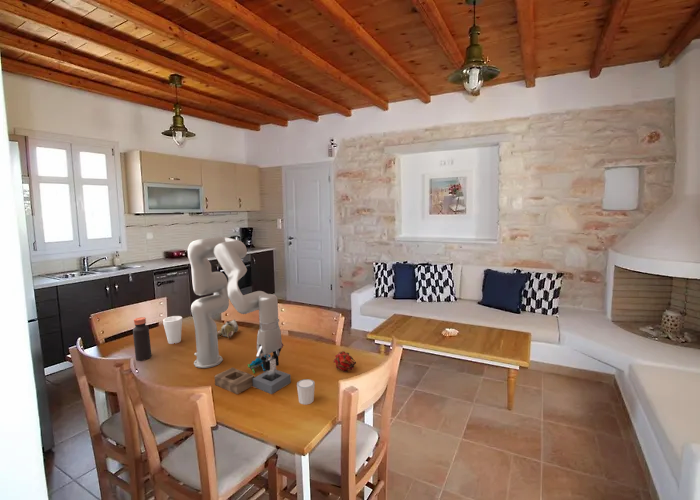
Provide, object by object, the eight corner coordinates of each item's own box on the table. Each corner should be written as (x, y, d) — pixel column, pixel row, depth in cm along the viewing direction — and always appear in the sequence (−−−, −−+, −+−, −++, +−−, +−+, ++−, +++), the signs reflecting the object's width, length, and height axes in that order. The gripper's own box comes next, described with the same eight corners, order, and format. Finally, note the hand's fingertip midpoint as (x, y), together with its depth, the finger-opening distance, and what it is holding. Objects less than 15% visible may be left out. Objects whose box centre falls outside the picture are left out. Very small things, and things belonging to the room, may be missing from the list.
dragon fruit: (337, 366, 170) (353, 380, 160) (325, 361, 164) (341, 374, 155) (347, 350, 171) (363, 363, 162) (336, 344, 165) (351, 357, 156)
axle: (264, 382, 150) (263, 359, 149) (271, 378, 154) (270, 355, 152) (271, 384, 148) (270, 361, 147) (278, 380, 151) (277, 358, 150)
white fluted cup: (315, 395, 142) (315, 378, 141) (314, 405, 135) (314, 387, 134) (298, 395, 142) (297, 379, 141) (296, 405, 135) (295, 388, 134)
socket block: (252, 386, 149) (252, 378, 149) (272, 375, 158) (271, 368, 158) (271, 394, 143) (271, 385, 143) (290, 382, 152) (290, 374, 152)
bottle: (132, 359, 177) (128, 319, 174) (146, 353, 183) (142, 315, 180) (141, 361, 174) (137, 321, 171) (154, 356, 180) (150, 317, 177)
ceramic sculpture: (242, 317, 211) (228, 327, 197) (243, 331, 213) (230, 342, 199) (226, 316, 214) (211, 326, 199) (227, 330, 215) (212, 341, 201)
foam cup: (171, 346, 193) (169, 322, 191) (161, 343, 197) (159, 320, 195) (187, 340, 201) (185, 317, 199) (177, 337, 205) (175, 315, 204)
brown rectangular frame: (215, 384, 151) (214, 375, 151) (232, 376, 159) (232, 367, 158) (237, 394, 144) (236, 385, 143) (254, 384, 151) (254, 375, 150)
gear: (268, 358, 172) (271, 350, 164) (273, 370, 169) (276, 361, 162) (245, 368, 166) (247, 359, 159) (250, 380, 163) (253, 372, 156)
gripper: (277, 317, 156) (279, 357, 159) (246, 329, 143) (248, 373, 145) (290, 320, 152) (291, 361, 155) (259, 333, 138) (261, 378, 141)
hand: (271, 366), depth 150 cm, fingers open, 4 cm apart
